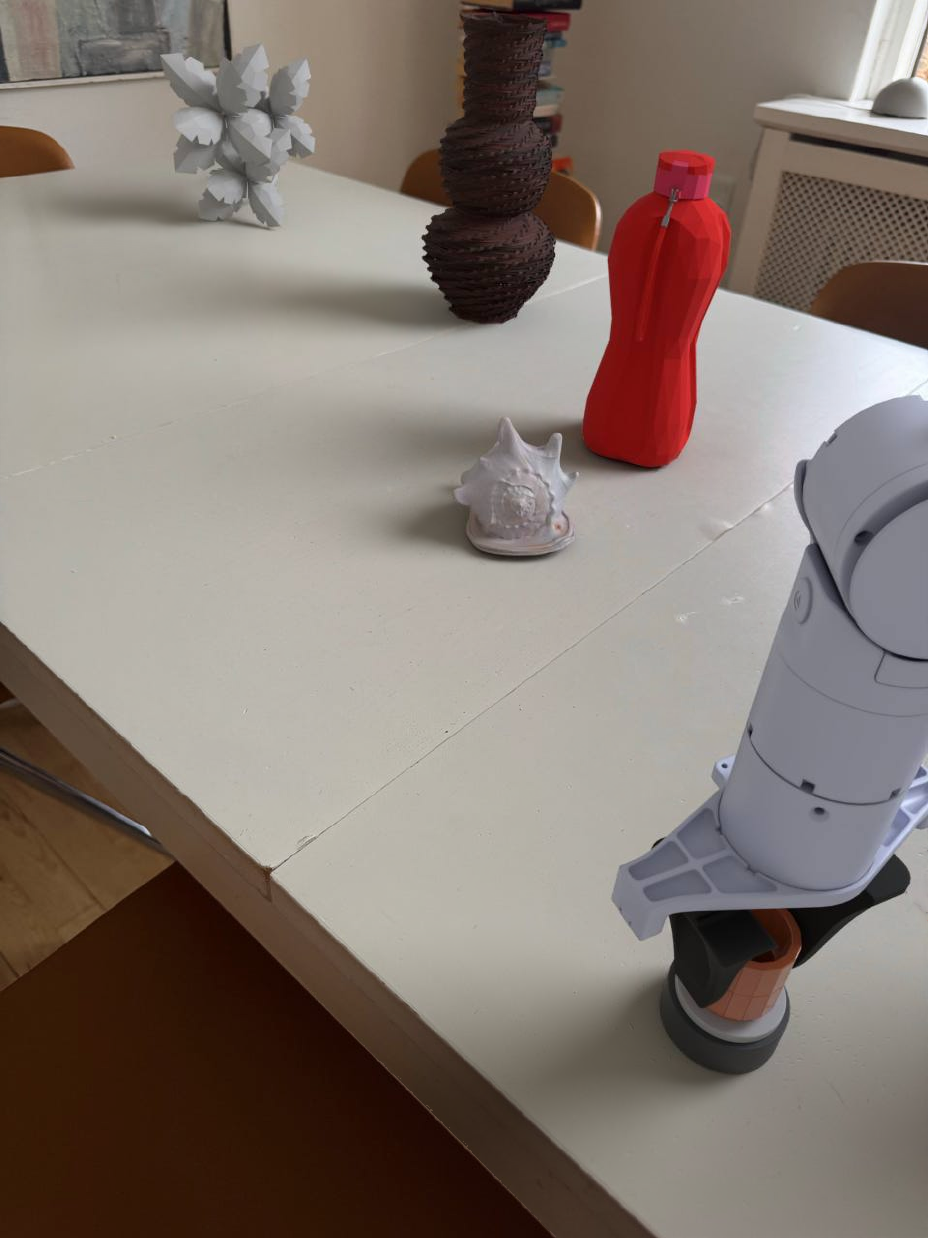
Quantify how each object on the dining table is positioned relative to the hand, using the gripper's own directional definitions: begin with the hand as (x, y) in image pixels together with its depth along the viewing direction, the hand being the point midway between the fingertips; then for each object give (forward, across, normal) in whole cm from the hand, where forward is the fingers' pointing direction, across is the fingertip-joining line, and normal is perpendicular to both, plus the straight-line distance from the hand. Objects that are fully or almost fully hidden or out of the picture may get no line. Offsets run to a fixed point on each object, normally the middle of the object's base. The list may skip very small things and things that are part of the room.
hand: (737, 967), depth 42 cm
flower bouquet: (+4, -13, -135) cm, 136 cm away
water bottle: (+4, -27, -49) cm, 56 cm away
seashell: (+4, -10, -42) cm, 43 cm away
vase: (+4, -29, -85) cm, 90 cm away
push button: (+4, 0, 0) cm, 4 cm away
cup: (+1, 0, 0) cm, 1 cm away
